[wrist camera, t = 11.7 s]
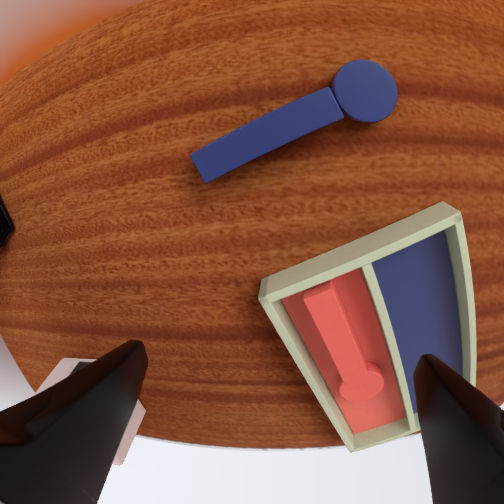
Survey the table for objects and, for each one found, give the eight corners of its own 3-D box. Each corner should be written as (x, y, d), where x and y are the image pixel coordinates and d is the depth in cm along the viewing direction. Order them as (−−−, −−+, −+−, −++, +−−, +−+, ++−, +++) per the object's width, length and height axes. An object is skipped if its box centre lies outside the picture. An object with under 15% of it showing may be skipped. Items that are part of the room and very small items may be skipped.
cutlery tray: (261, 278, 20) (257, 298, 18) (442, 200, 17) (460, 211, 14) (348, 433, 26) (350, 453, 24) (466, 387, 23) (474, 405, 20)
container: (62, 355, 27) (-2, 440, 15) (114, 358, 25) (47, 466, 14) (95, 404, 30) (49, 487, 18) (148, 410, 28) (104, 510, 16)
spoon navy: (221, 190, 18) (213, 199, 16) (193, 138, 17) (180, 140, 15) (400, 110, 15) (414, 109, 13) (373, 55, 14) (384, 47, 12)
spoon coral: (289, 286, 19) (288, 305, 17) (342, 265, 18) (347, 282, 16) (344, 396, 23) (347, 416, 21) (385, 382, 22) (390, 401, 20)
